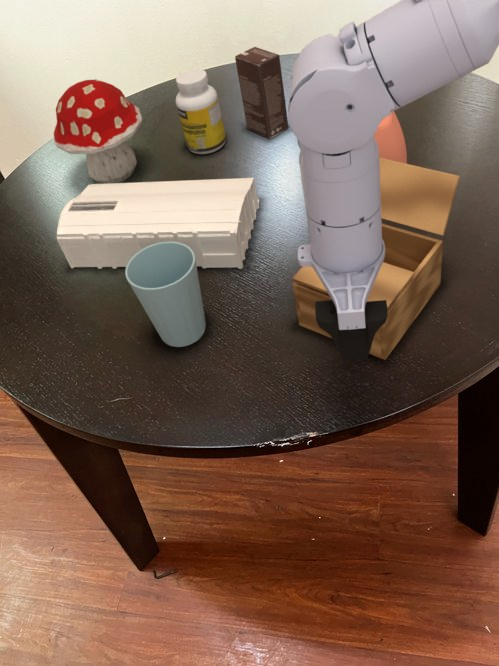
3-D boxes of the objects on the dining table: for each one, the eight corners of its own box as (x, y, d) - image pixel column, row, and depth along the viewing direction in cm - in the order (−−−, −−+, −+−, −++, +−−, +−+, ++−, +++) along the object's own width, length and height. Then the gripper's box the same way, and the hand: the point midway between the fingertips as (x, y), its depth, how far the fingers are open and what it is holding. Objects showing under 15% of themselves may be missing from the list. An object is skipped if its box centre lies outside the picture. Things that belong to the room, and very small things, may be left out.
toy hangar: (265, 199, 92) (257, 156, 87) (246, 269, 82) (236, 225, 77) (103, 204, 98) (87, 165, 93) (68, 270, 88) (48, 229, 83)
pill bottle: (180, 147, 105) (161, 79, 97) (211, 130, 108) (195, 61, 99) (203, 160, 102) (186, 91, 93) (235, 142, 104) (220, 72, 95)
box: (290, 127, 104) (280, 53, 95) (269, 140, 102) (257, 66, 94) (266, 116, 108) (254, 44, 99) (245, 128, 106) (232, 56, 97)
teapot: (402, 136, 97) (402, 56, 88) (411, 219, 83) (412, 135, 75) (312, 145, 99) (304, 68, 91) (307, 227, 86) (296, 146, 77)
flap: (353, 210, 75) (355, 210, 75) (442, 235, 69) (443, 235, 70) (365, 154, 72) (367, 154, 73) (458, 176, 67) (460, 175, 67)
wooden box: (357, 257, 80) (354, 209, 75) (440, 284, 75) (443, 234, 69) (299, 325, 74) (291, 278, 69) (385, 360, 68) (384, 312, 63)
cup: (139, 332, 78) (111, 267, 70) (190, 298, 80) (168, 231, 73) (174, 365, 73) (149, 299, 66) (227, 328, 76) (208, 260, 68)
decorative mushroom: (65, 205, 100) (24, 116, 89) (81, 156, 109) (45, 70, 98) (153, 192, 98) (122, 99, 87) (161, 143, 107) (134, 54, 97)
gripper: (292, 158, 55) (309, 275, 65) (289, 272, 45) (309, 391, 55) (376, 148, 54) (380, 269, 64) (392, 263, 44) (394, 386, 54)
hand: (353, 325), depth 59 cm, fingers open, 7 cm apart
